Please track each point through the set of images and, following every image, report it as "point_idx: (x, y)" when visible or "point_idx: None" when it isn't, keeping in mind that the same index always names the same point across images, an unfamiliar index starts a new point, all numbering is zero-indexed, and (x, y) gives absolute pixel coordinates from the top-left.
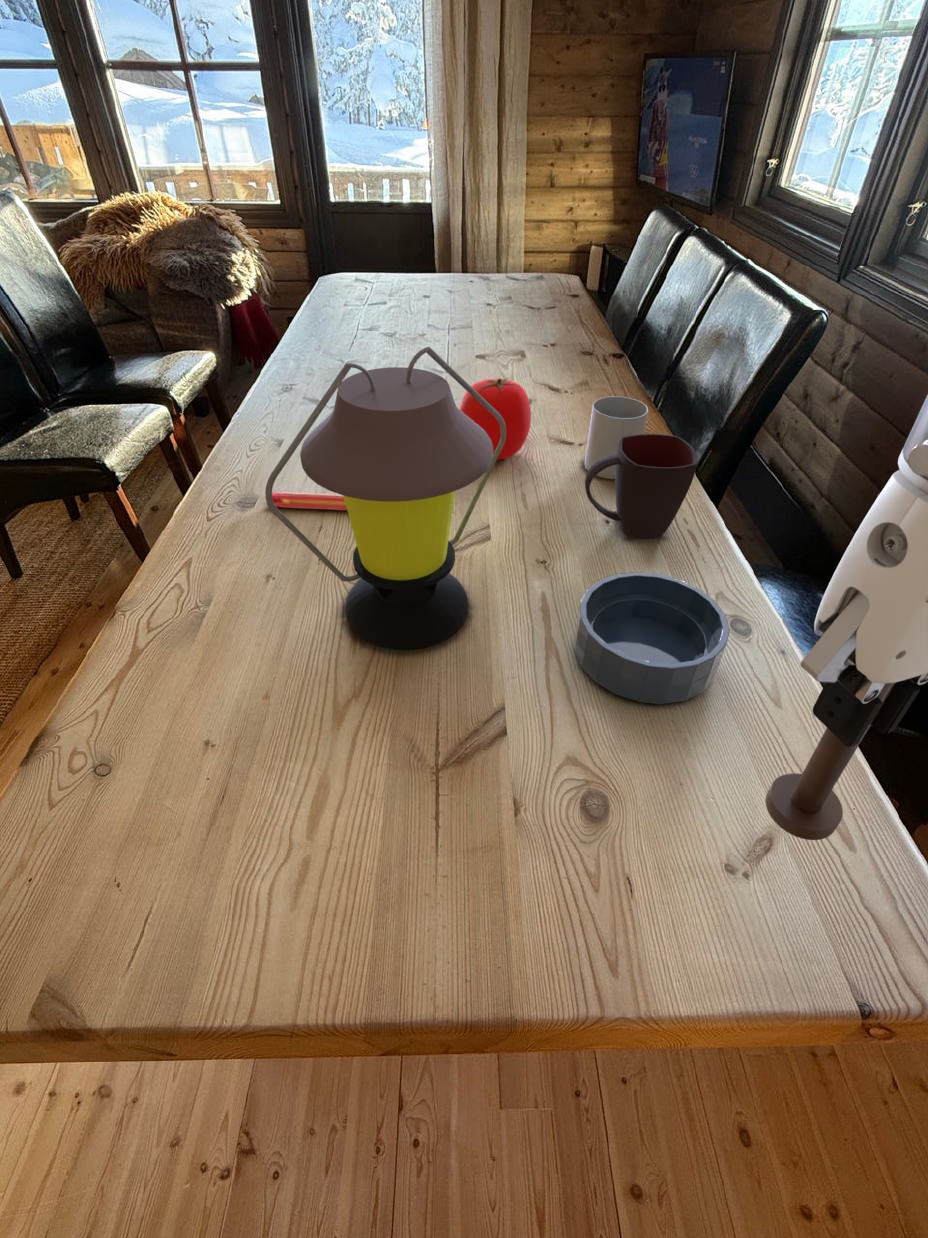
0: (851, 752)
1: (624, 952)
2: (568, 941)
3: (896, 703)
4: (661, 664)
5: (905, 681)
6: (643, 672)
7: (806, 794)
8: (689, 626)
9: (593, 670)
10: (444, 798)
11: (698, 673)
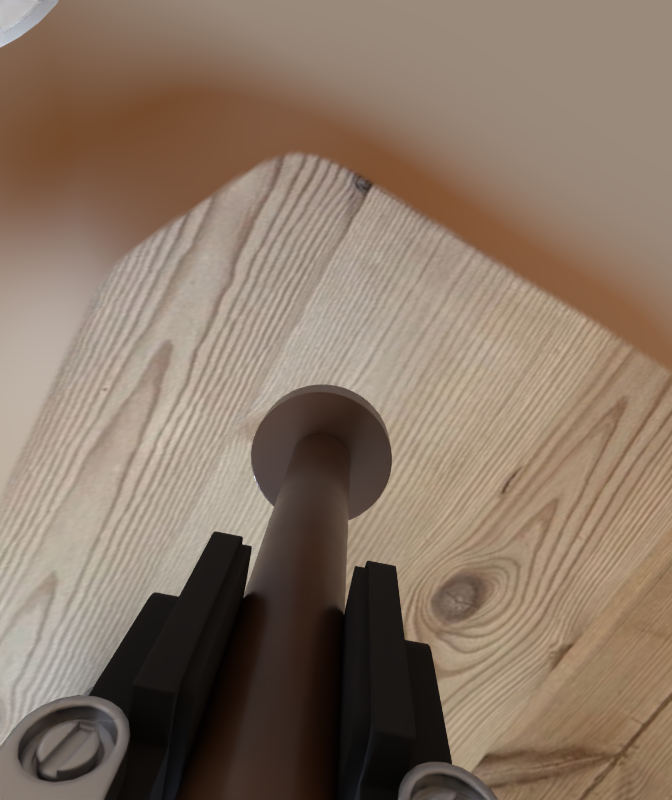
0: (311, 526)
1: (589, 416)
2: (643, 468)
3: (216, 646)
4: None
5: (147, 742)
6: None
7: (349, 476)
8: None
9: None
10: (640, 716)
11: None
